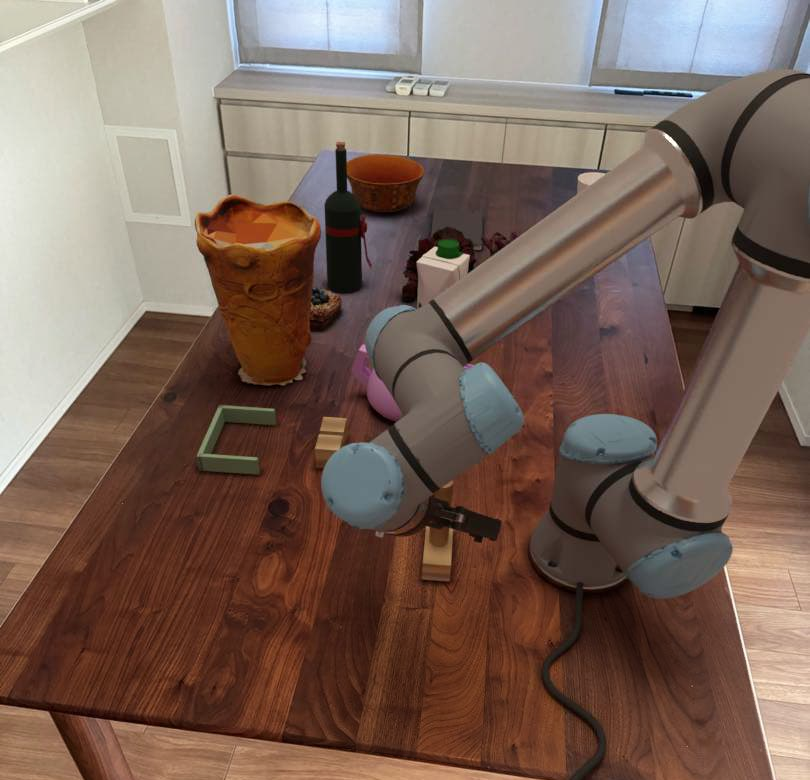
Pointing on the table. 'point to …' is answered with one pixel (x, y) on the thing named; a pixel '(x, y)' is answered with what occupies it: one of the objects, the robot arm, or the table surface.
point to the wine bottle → (344, 233)
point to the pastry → (323, 309)
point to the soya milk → (440, 270)
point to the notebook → (460, 224)
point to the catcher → (222, 415)
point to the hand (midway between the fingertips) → (431, 516)
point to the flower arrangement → (464, 247)
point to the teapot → (377, 387)
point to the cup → (587, 180)
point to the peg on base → (438, 545)
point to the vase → (262, 282)
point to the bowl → (384, 181)
